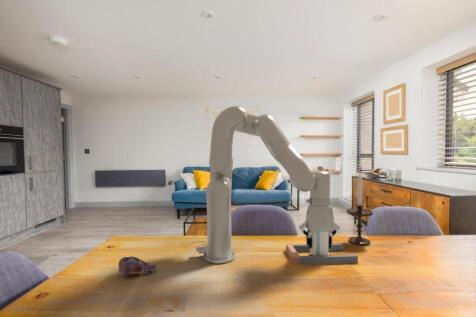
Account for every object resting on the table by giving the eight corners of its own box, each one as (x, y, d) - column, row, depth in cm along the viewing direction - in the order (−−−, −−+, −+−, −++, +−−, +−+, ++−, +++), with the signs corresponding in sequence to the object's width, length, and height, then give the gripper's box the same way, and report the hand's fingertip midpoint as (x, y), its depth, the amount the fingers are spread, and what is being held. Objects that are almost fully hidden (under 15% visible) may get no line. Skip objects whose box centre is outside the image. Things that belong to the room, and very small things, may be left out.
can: (311, 249, 104) (311, 221, 103) (329, 252, 100) (329, 223, 100) (308, 255, 97) (308, 225, 97) (327, 259, 94) (327, 228, 94)
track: (294, 264, 92) (294, 256, 92) (286, 250, 105) (286, 243, 105) (357, 262, 93) (358, 254, 93) (341, 249, 106) (341, 242, 106)
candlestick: (367, 238, 119) (368, 165, 118) (376, 247, 108) (377, 167, 107) (343, 237, 120) (344, 165, 119) (349, 245, 110) (350, 166, 109)
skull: (157, 268, 90) (157, 251, 90) (152, 279, 82) (151, 260, 82) (123, 269, 89) (123, 252, 89) (114, 280, 81) (114, 262, 81)
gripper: (301, 204, 94) (300, 250, 95) (345, 204, 95) (344, 250, 96) (295, 200, 102) (294, 243, 102) (336, 200, 102) (336, 242, 103)
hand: (319, 246), depth 99 cm, fingers closed on can, 7 cm apart
